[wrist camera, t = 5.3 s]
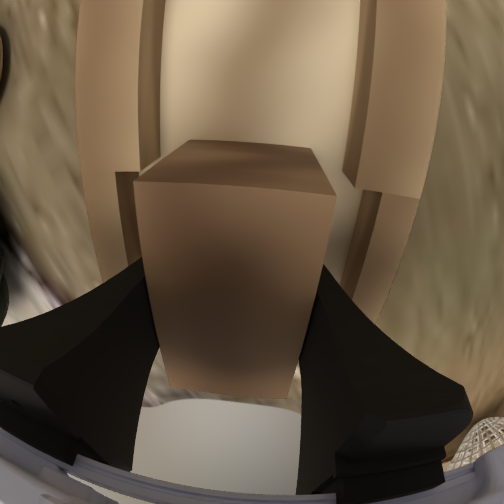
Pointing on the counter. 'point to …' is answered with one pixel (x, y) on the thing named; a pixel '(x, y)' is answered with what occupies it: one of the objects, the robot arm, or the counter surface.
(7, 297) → the squash
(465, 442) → the heart
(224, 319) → the tan upright prism
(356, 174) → the tapered wooden tray
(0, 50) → the soda can
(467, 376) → the counter surface
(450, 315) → the counter surface
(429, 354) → the counter surface
